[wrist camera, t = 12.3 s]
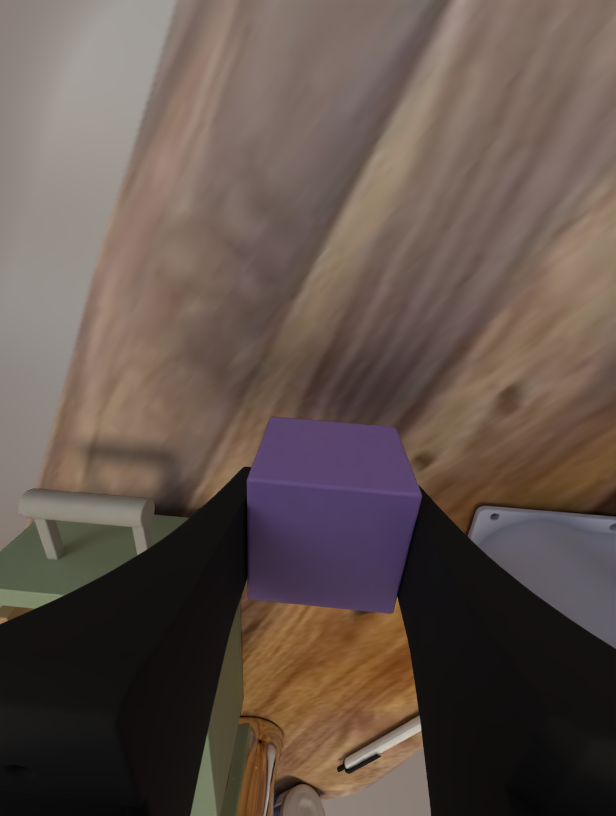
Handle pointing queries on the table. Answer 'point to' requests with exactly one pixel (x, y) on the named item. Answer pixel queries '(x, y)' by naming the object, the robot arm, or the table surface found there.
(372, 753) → the pen
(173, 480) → the table surface
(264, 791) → the beer glass
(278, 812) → the pill bottle
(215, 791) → the cabinet
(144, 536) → the drawer
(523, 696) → the robot arm
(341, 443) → the cube
